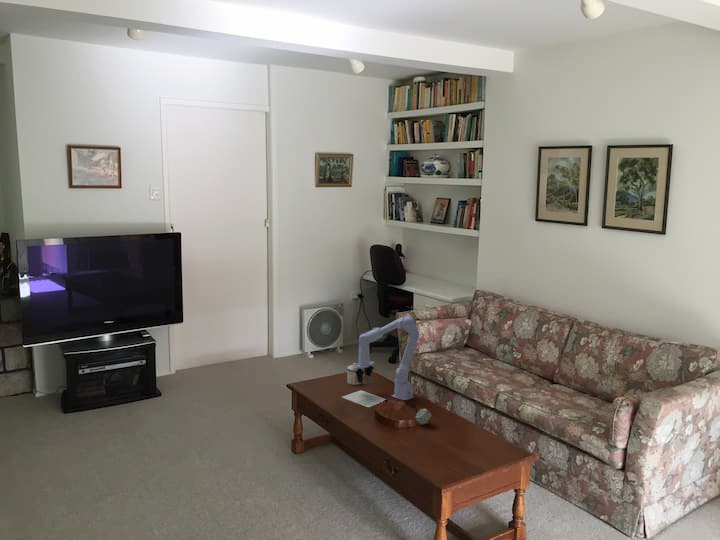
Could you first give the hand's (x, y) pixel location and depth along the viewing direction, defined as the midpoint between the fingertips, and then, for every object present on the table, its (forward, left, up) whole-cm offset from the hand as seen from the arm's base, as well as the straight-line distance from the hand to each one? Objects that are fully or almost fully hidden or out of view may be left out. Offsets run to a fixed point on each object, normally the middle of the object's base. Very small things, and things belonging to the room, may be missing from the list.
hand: (363, 380), depth 333 cm
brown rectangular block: (0, 0, -1) cm, 1 cm away
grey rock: (-46, +7, -8) cm, 48 cm away
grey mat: (-4, +4, -8) cm, 10 cm away
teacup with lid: (+19, -11, -8) cm, 23 cm away
